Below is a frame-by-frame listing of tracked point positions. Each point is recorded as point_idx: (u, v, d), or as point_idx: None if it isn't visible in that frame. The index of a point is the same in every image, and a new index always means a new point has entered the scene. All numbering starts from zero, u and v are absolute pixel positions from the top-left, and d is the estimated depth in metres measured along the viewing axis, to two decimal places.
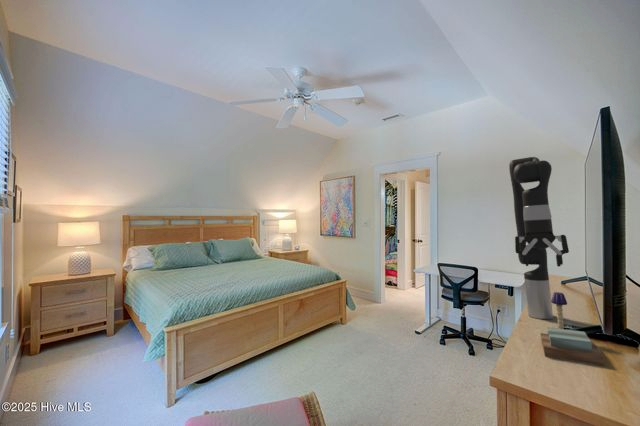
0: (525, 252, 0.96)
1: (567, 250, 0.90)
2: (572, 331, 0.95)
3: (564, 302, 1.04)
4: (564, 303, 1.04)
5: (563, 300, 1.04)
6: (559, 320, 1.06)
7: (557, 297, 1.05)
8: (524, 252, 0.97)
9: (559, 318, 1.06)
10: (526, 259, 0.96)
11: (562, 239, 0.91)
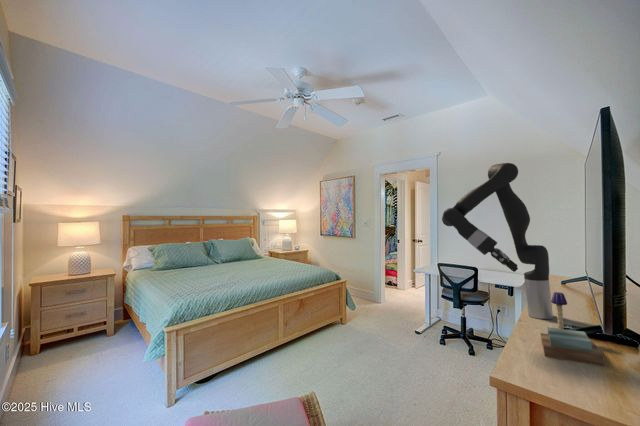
0: None
1: None
2: (572, 331, 0.95)
3: (564, 302, 1.04)
4: (564, 303, 1.04)
5: (563, 300, 1.04)
6: (559, 320, 1.06)
7: (557, 297, 1.05)
8: None
9: (559, 318, 1.06)
10: None
11: (493, 256, 1.14)
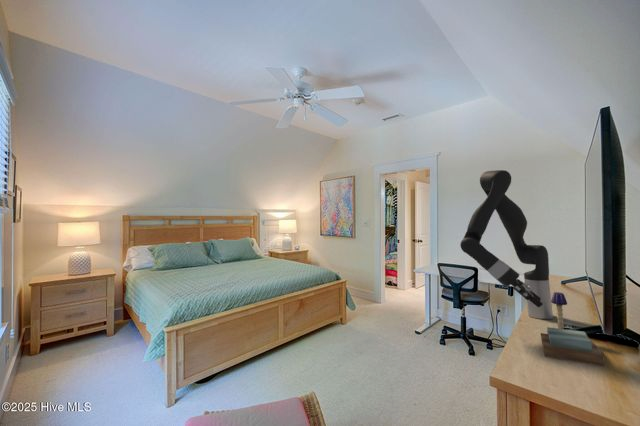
0: None
1: (525, 298, 1.07)
2: (572, 331, 0.95)
3: (564, 302, 1.04)
4: (564, 303, 1.04)
5: (563, 300, 1.04)
6: (559, 320, 1.06)
7: (557, 297, 1.05)
8: None
9: (559, 318, 1.06)
10: None
11: None
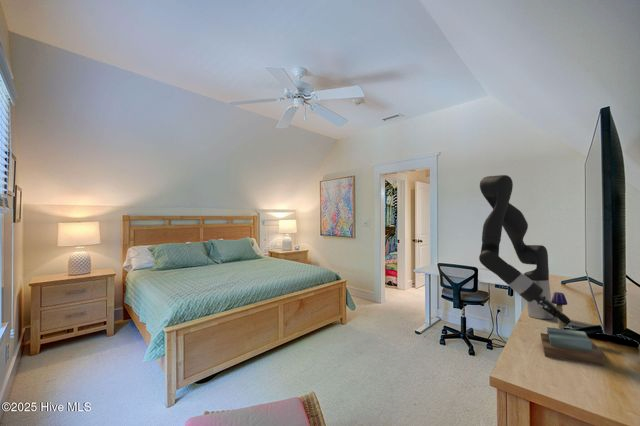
0: (553, 313, 1.08)
1: None
2: (572, 331, 0.95)
3: (564, 302, 1.04)
4: (564, 303, 1.04)
5: (563, 300, 1.04)
6: (559, 320, 1.06)
7: (557, 297, 1.05)
8: (552, 313, 1.08)
9: None
10: None
11: None
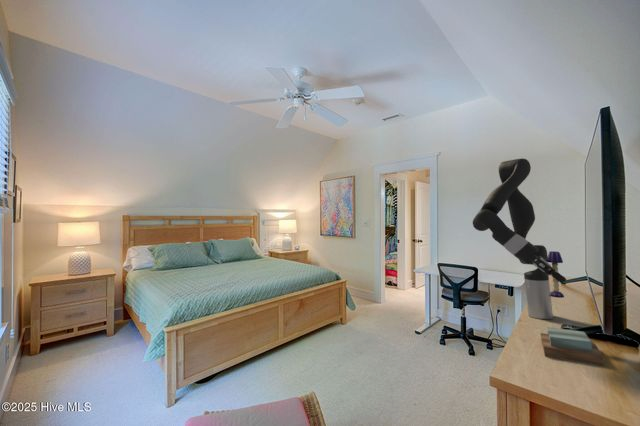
0: None
1: (548, 274, 1.02)
2: (572, 331, 0.95)
3: (560, 260, 1.01)
4: (560, 261, 1.01)
5: (559, 258, 1.02)
6: (554, 279, 1.03)
7: (553, 255, 1.03)
8: None
9: None
10: None
11: (539, 267, 1.02)
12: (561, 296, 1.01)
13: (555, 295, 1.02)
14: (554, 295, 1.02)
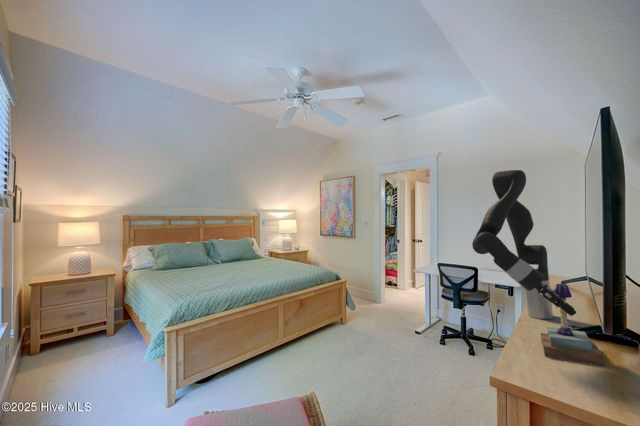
0: (555, 302, 0.97)
1: (556, 306, 0.92)
2: (572, 331, 0.95)
3: (568, 295, 0.92)
4: (568, 296, 0.92)
5: (567, 292, 0.93)
6: (562, 315, 0.94)
7: (560, 289, 0.93)
8: (554, 302, 0.97)
9: (562, 313, 0.94)
10: None
11: (545, 297, 0.93)
12: (570, 334, 0.92)
13: (564, 333, 0.93)
14: (563, 333, 0.93)
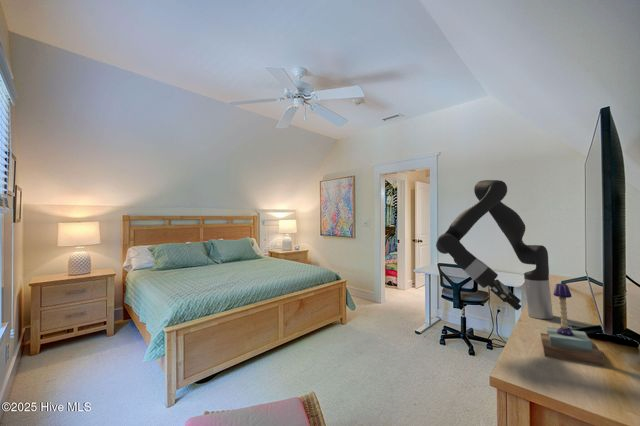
0: None
1: None
2: (572, 331, 0.95)
3: (568, 295, 0.92)
4: (568, 296, 0.92)
5: (567, 292, 0.93)
6: (562, 315, 0.94)
7: (560, 289, 0.94)
8: None
9: (562, 313, 0.94)
10: None
11: None
12: (570, 334, 0.92)
13: (564, 333, 0.93)
14: (563, 333, 0.93)
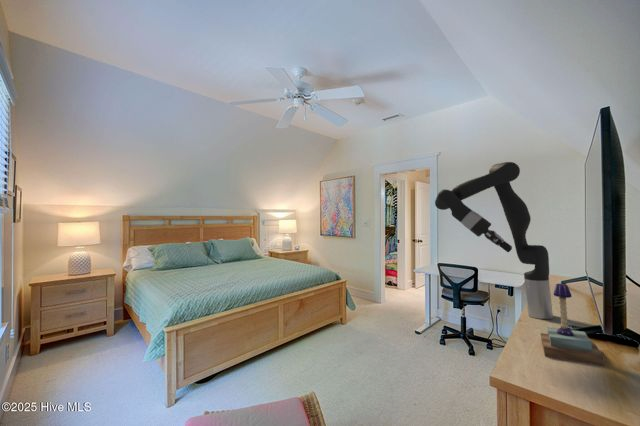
0: None
1: (495, 243, 1.09)
2: (572, 331, 0.95)
3: (568, 295, 0.92)
4: (568, 296, 0.92)
5: (567, 292, 0.93)
6: (562, 315, 0.94)
7: (560, 289, 0.94)
8: None
9: (562, 313, 0.94)
10: None
11: (487, 237, 1.12)
12: (570, 334, 0.92)
13: (564, 333, 0.93)
14: (563, 333, 0.93)
